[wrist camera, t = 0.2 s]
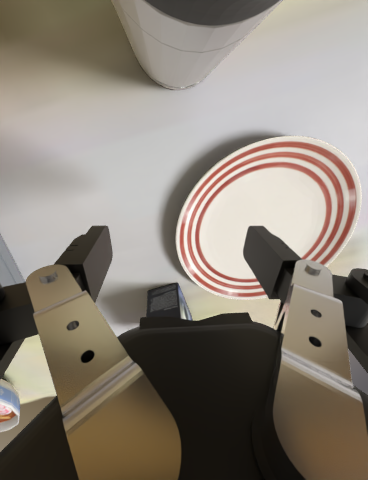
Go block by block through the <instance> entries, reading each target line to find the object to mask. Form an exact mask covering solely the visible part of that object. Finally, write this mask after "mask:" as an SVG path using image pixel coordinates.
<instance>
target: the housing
mask: <svg viewBox="0 0 368 480" xmlns="http://www.w3.org/2000/svg"><path fill="white" fill-rule="evenodd" d="M24 282H25V281H24V279H23V277H22V275H21V273H20V271H19V269H18V267H17V265H16V263H15V261H14V259H13V257H12V255H11V254H10V252H9V250H8V248H7V246H6V244H5V242H4V240H3V238H2V236H1V234H0V283H1V285H2V287H5V286H10V285H14V284H19V283H24Z"/></svg>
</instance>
